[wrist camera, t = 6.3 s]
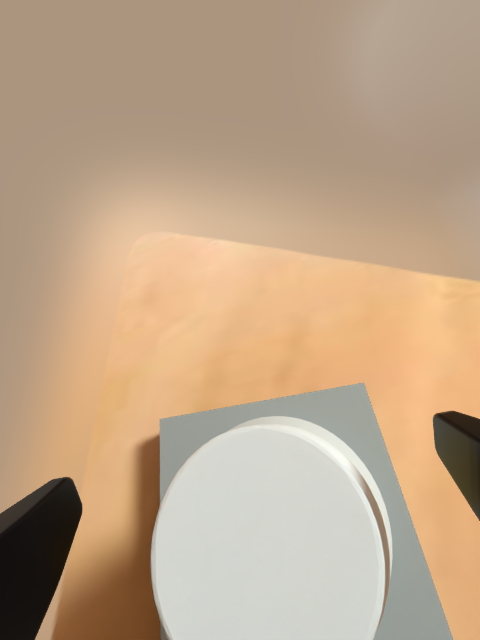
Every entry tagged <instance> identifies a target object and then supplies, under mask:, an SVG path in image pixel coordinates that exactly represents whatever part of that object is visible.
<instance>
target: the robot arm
mask: <svg viewBox="0 0 480 640" xmlns="http://www.w3.org/2000/svg"><path fill="white" fill-rule="evenodd" d="M433 427H434V440H435V448H436V451H437V453H438V456H439V457H440V459H441V461H442V462H443V464H444V465H445V467H446V469H447V470H448V472H449V473H450V475H451V476H452V478H453V480H454V481H455V483H456V484H457V486H458V488H459V489H460V491H461V492H462V494H463V496H464V497H465V499H466V500H467V502H468V504H469V505H470V507H471V508H472V510H473V511H474V513H475V515H476V516H477V518H478V519H479V521H480V419H478V418H475V417H472V416H469V415H465V414H462V413H459V412H456V411H447V412H441V413H436V414H435V415H434V417H433ZM81 515H82V503H81V500H80V497H79V495H78V492H77V489H76V487H75V484H74V482H73V480H72V479H71V478H70V477H63V478H58V479H53V480H51V481H49V482H48V483H47V484H45V485H43V486H42V487H40V488H39V489H37V490H36V491H34V492H33V493H31V494H29V495H28V496H26V497H25V498H23V499H22V500H20V501H19V502H17V503H16V504H14V505H13V506H11V507H10V508H8V509H7V510H5V511H4V512H2V513H1V514H0V640H35V638H36V635H37V633H38V631H39V629H40V626H41V623H42V621H43V619H44V617H45V615H46V612H47V610H48V607H49V605H50V603H51V600H52V598H53V596H54V593H55V591H56V588H57V586H58V583H59V580H60V578H61V575H62V572H63V569H64V566H65V563H66V560H67V557H68V554H69V551H70V548H71V545H72V542H73V539H74V536H75V533H76V530H77V527H78V524H79V521H80V518H81Z"/></svg>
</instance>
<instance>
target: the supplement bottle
mask: <svg viewBox="0 0 480 640" xmlns="http://www.w3.org/2000/svg"><path fill="white" fill-rule="evenodd" d="M150 572H151V583H152V590H153V596H154V601H155V604H156V608H157V611H158V615H159V619H160V622H161V624H162V627H163V629H164V631H165V634H166V636H167V638H168V640H373V639H374V636H375V633H376V631H377V629H378V627H379V624H380V622H381V619H382V616H383V613H384V609H385V605H386V601H387V596H388V590H389V581H390V554H389V546H388V539H387V534H386V529H385V525H384V521H383V518H382V515H381V512H380V509H379V507H378V504H377V502H376V500H375V498H374V496H373V494H372V492H371V489H370V487H369V486H368V484H367V483H366V481H365V479H364V478H363V476H362V475H361V474H360V472H359V471H358V470H357V468H356V467H355V466H354V465H353V463H352V462H351V461H350V460H349V459H348V458H347V457H346V456H345V455H344V454H343V453H342V452H341V451H339V450H338V449H337V448H336V447H335V446H333V445H332V444H330V443H329V442H328V441H326V440H324V439H323V438H321V437H319V436H318V435H316V434H313V433H311V432H309V431H306V430H304V429H301V428H297V427H294V426H288V425H282V424H261V425H252V426H245V427H240V428H236V429H233V430H230V431H228V432H225V433H223V434H220V435H218V436H216V437H215V438H213V439H211V440H210V441H208V442H207V443H205V444H204V445H202V446H201V447H200V448H199V449H197V450H196V451H195V452H194V453H193V454H192V455H191V456H190V457H189V458H188V459H187V460H186V461H185V463H184V464H183V465H182V466H181V467H180V469H179V470H178V472H177V473H176V475H175V476H174V478H173V479H172V481H171V483H170V485H169V486H168V488H167V491H166V493H165V495H164V497H163V499H162V502H161V505H160V508H159V510H158V513H157V517H156V521H155V525H154V529H153V535H152V542H151V554H150Z"/></svg>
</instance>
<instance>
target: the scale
mask: <svg viewBox="0 0 480 640" xmlns="http://www.w3.org/2000/svg"><path fill="white" fill-rule="evenodd" d="M261 424H282V425H288V426H294V427H297V428H301V429H304V430H306V431H309V432H311V433H313V434H316V435H318V436H319V437H321V438H323V439H324V440H326V441H328V442H329V443H330V444H332V445H333V446H335V447H336V448H337V449H338V450H339V451H341V452H342V453H343V454H344V455H345V456H346V457H347V458H348V459H349V460H350V461H351V462H352V463H353V465H354V466H355V467H356V468H357V470H358V471H359V472H360V474H361V475H362V476H363V478H364V479H365V481H366V483H367V484H368V486H369V487H370V489H371V492H372V494H373V496H374V498H375V500H376V502H377V504H378V507H379V509H380V512H381V515H382V518H383V521H384V525H385V529H386V534H387V539H388V546H389V554H390V581H389V590H388V596H387V601H386V605H385V609H384V613H383V616H382V619H381V622H380V624H379V627H378V629H377V631H376V633H375V636H374V639H373V640H453V637H452V634H451V631H450V629H449V626H448V623H447V620H446V617H445V614H444V611H443V608H442V606H441V603H440V600H439V597H438V594H437V591H436V588H435V586H434V583H433V580H432V577H431V574H430V571H429V568H428V565H427V563H426V560H425V557H424V554H423V551H422V548H421V545H420V543H419V540H418V537H417V534H416V531H415V528H414V525H413V522H412V520H411V517H410V514H409V511H408V508H407V505H406V502H405V500H404V497H403V494H402V491H401V488H400V485H399V482H398V479H397V477H396V474H395V471H394V468H393V465H392V462H391V459H390V457H389V454H388V451H387V448H386V445H385V442H384V439H383V436H382V434H381V431H380V428H379V425H378V422H377V419H376V416H375V414H374V411H373V408H372V405H371V402H370V399H369V396H368V393H367V391H366V388H365V385H364V383H359V384H354V385H348V386H343V387H337V388H331V389H326V390H320V391H315V392H309V393H304V394H298V395H292V396H287V397H281V398H276V399H270V400H264V401H259V402H253V403H248V404H242V405H237V406H231V407H225V408H220V409H214V410H209V411H203V412H197V413H192V414H186V415H181V416H175V417H170V418H164V419H160V505H161V502H162V499H163V497H164V495H165V493H166V491H167V488H168V486H169V485H170V483H171V481H172V479H173V478H174V476H175V475H176V473H177V472H178V470H179V469H180V467H181V466H182V465H183V464H184V463H185V461H186V460H187V459H188V458H189V457H190V456H191V455H192V454H193V453H194V452H195V451H196V450H197V449H199V448H200V447H201V446H202V445H204V444H205V443H207V442H208V441H210V440H211V439H213V438H215V437H216V436H218V435H220V434H223V433H225V432H228V431H230V430H233V429H236V428H240V427H245V426H252V425H261ZM160 640H168V638H167V636H166V634H165V631H164V629H163V627H162V624H161V622H160Z"/></svg>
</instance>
